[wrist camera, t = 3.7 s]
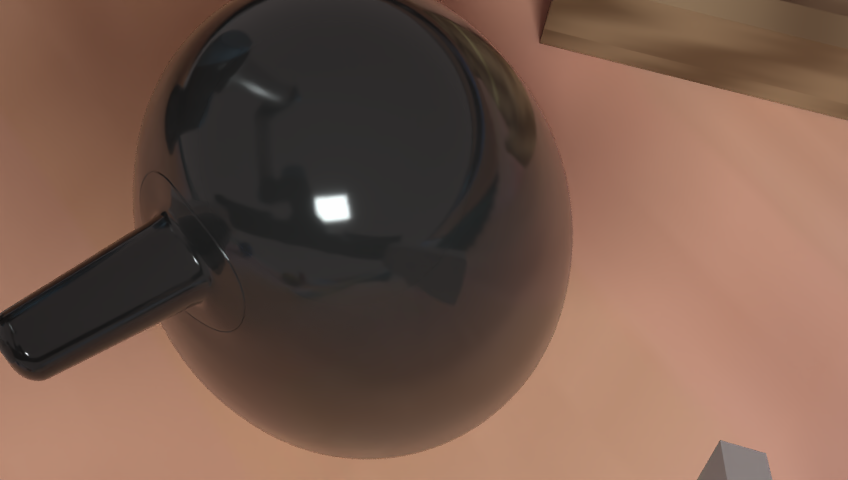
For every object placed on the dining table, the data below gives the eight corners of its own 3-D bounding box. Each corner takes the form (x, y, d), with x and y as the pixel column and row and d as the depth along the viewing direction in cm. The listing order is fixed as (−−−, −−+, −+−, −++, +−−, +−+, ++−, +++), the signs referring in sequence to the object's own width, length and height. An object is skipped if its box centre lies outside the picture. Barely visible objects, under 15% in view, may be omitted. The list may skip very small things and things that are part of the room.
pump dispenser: (149, 263, 25) (-263, 36, 10) (406, 74, 26) (382, -372, 11) (343, 528, 23) (196, 736, 8) (607, 310, 24) (892, 148, 10)
